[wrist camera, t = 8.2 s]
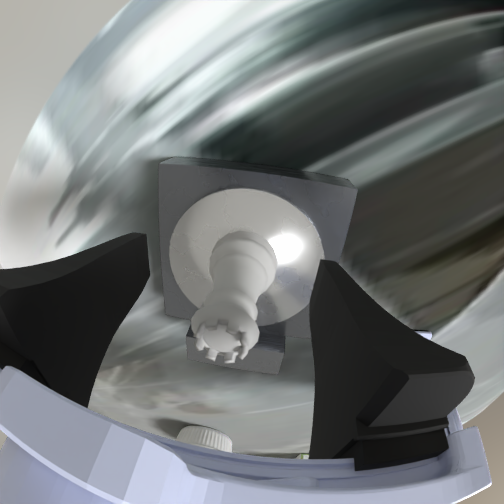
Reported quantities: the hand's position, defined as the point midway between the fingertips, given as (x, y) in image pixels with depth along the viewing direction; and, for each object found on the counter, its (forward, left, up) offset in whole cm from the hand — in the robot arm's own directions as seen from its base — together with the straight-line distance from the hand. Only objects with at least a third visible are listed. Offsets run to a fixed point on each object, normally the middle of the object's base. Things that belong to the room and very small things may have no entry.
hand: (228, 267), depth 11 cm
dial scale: (-6, 0, -10) cm, 12 cm away
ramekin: (-44, +4, -11) cm, 46 cm away
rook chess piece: (-3, 0, -7) cm, 8 cm away
